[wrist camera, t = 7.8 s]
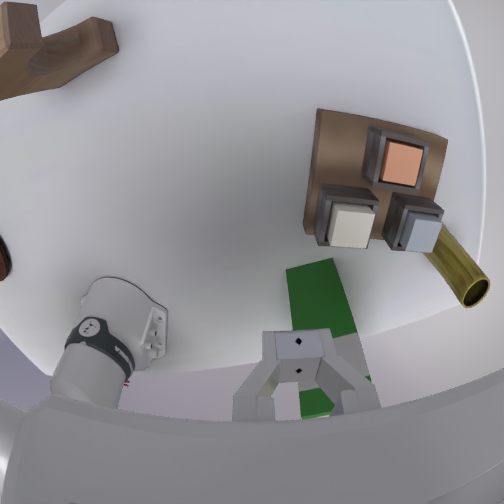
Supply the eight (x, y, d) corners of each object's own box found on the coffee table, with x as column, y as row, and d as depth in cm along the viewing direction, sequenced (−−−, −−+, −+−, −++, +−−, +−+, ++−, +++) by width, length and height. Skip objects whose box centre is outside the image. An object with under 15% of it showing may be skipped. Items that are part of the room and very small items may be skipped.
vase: (418, 258, 42) (457, 317, 30) (415, 228, 39) (461, 286, 27) (446, 245, 40) (489, 299, 29) (445, 216, 37) (495, 268, 26)
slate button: (421, 239, 34) (431, 252, 31) (395, 237, 34) (405, 250, 31) (430, 211, 31) (442, 222, 29) (404, 207, 31) (415, 219, 29)
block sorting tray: (411, 232, 39) (431, 257, 34) (302, 223, 39) (310, 250, 33) (436, 134, 31) (465, 147, 25) (317, 108, 30) (330, 114, 25)
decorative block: (112, 19, 23) (4, -2, 6) (120, 53, 26) (8, 49, 9) (51, 57, 25) (-56, 73, 8) (58, 88, 28) (-50, 119, 11)
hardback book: (343, 329, 51) (369, 444, 31) (306, 338, 53) (320, 455, 33) (332, 257, 42) (376, 399, 22) (285, 269, 44) (301, 416, 24)
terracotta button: (403, 176, 30) (414, 186, 28) (372, 171, 30) (382, 180, 28) (410, 143, 28) (423, 150, 25) (378, 136, 28) (390, 142, 25)
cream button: (358, 234, 34) (365, 248, 31) (325, 232, 34) (330, 246, 31) (365, 202, 31) (375, 214, 29) (331, 198, 31) (337, 210, 29)
